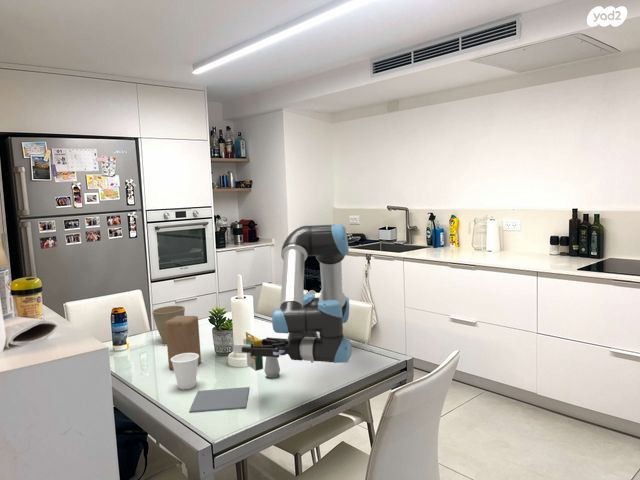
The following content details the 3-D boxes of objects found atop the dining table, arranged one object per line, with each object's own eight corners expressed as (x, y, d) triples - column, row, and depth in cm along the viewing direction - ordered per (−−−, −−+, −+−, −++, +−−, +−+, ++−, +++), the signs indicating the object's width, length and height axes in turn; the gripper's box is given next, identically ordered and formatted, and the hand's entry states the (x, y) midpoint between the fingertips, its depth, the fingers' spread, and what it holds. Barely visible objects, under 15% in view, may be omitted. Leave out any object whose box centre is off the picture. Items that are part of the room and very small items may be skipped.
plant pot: (174, 335, 242) (171, 304, 240) (193, 339, 233) (191, 307, 232) (148, 343, 230) (145, 310, 228) (167, 348, 221) (165, 314, 220)
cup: (186, 394, 168) (183, 363, 167) (167, 389, 174) (164, 359, 173) (206, 383, 177) (204, 354, 176) (187, 379, 182) (185, 351, 181)
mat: (249, 388, 171) (249, 387, 171) (245, 408, 155) (245, 406, 155) (198, 392, 170) (198, 390, 170) (189, 412, 154) (189, 411, 154)
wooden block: (191, 370, 191) (187, 321, 189) (168, 370, 193) (164, 321, 191) (202, 362, 201) (198, 315, 199) (180, 361, 203) (176, 315, 201)
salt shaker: (282, 374, 183) (280, 340, 182) (276, 379, 178) (274, 345, 176) (268, 372, 185) (266, 339, 184) (262, 378, 180) (260, 344, 178)
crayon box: (263, 369, 159) (261, 334, 158) (255, 371, 157) (253, 336, 156) (255, 363, 165) (253, 330, 164) (247, 365, 164) (245, 331, 163)
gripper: (293, 369, 147) (225, 365, 154) (313, 351, 165) (252, 348, 172) (292, 345, 146) (224, 342, 153) (312, 330, 165) (251, 327, 172)
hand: (239, 345), depth 163 cm, fingers closed on crayon box, 6 cm apart
